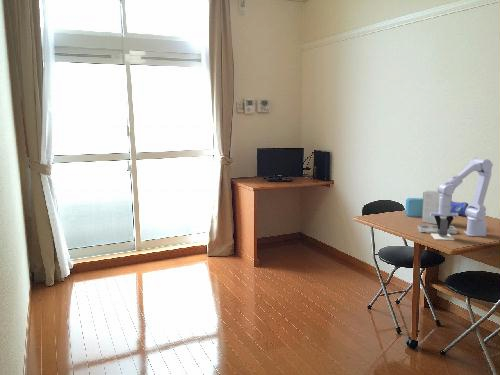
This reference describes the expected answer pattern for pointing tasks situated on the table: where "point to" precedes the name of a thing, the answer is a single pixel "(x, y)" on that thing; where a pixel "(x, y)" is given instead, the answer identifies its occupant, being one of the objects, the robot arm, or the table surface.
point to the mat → (442, 237)
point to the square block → (443, 227)
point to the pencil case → (459, 207)
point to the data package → (414, 207)
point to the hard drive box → (431, 206)
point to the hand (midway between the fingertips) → (442, 228)
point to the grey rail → (435, 229)
